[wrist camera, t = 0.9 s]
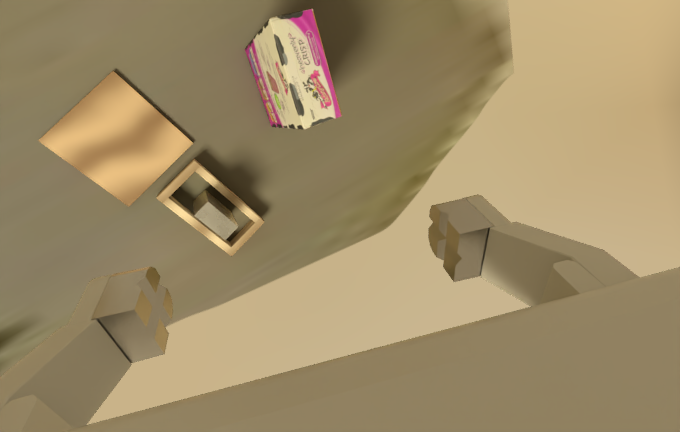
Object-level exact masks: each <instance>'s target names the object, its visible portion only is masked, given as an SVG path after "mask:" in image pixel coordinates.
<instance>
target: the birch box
mask: <svg viewBox="0 0 680 432" xmlns="http://www.w3.org/2000/svg"><path fill="white" fill-rule="evenodd" d="M195 171H196V172H197V173H198V174H199V175H200V176H202V177H203V178H204V179H205V180H206V181H207V182H208V183H210V184H211V185H212V186H213V187H214V188H215V189H217V190H218V191H219V192H220V193H221V194H222V195H224V196H225V197H226V198H227V199H228V200H229V201H231V202H232V203H233V204H234V205H235V206H236V207H238V208H239V209H240V210H241V211H242V212H243V213H244V214H246V215H247V216H248V217H249V218H250V219H251V220H250V221H249V222H248V223H247V224H246V225H245V226H244V227H243V229H242V230H241V231H240V232H239V233H238V234H237V235H236V236H235V237H234V238H233V239H232V240H231V241H230V242H229V241H228V240H224V239H223V238H222V237H220V236H219V235H218V234H217V233H215V232H214V231H213V230H212V229H210V228H209V227H208V226H207V225H205V224H204V223H203V222H201V221H200V220H199V219H198V218H196V217H195V216H194V213H192V212H191V211H190V210H188V209H187V208H186V207H185V206H183V205H182V204H181V203H180V202H178V201H177V200H176V199H175V198H173V197H172V196H171V195H172V194H173V193H174V192H175V191H176V190H177V189H178V188H179V187H180V186H181V185H182V184H183V183H184V182H185V181H186V180H187V179H188V178H189V177H190V176H191V175H192V174H193V173H194V172H195ZM156 199H158V200H159V201H160V202H162V203H163V204H164V205H166V206H167V207H168V208H169V209H171V210H172V211H173V212H175V213H176V214H177V215H179V216H180V217H181V218H182V219H184V220H185V221H186V222H188V223H189V224H190V225H192V226H193V227H194V228H195V229H197V230H198V231H199V232H201V233H202V234H203V235H204V236H206V237H207V238H208V239H210V240H211V241H212V242H214V243H215V244H216V245H217V246H219V247H220V248H221V249H223V250H224V251H225V252H227V253H228V254H229V255H230V256H232V255H233V254H234V253H235V252H236V251H237V250H238V249H239V248H240V247H241V246H242V245H243V244H244V243H245V242H246V241H247V240H248V239H249V238H250V237H251V236H252V235H253V234H254V233H255V232H256V231H257V229H258V228H259V227H260V226H261V225H262V224H263V223H264V220H263V219H262V218H261V217H260V216H259V215H258V214H257V213H256V212H255V211H253V210H252V209H251V208H250V207H249V206H248V205H247V204H245V203H244V202H243V201H242V200H241V199H240V198H239V197H238V196H236V195H235V194H234V193H233V192H232V191H231V190H230V189H228V188H227V187H226V186H225V185H224V184H223V183H222V182H220V181H219V180H218V179H217V178H216V177H215V176H214V175H213V174H211V173H210V172H209V171H208V170H207V169H206V168H205V167H203V166H202V165H201V164H200V163H199V162H198V161H197V160H195V159H193V160H192V161H191V162H190V163H189V164H188V165H187V166H186V167H185V168H184V169H183V170H182V171H181V172H180V173H179V174H178V175H177V176H176V177H175V178H174V179H173V180H172V181H171V182H170V183H169V184H168V185H167V186H166V187H165V188H164V189H163V190H162V191H161V192H160V193H159V194H158V195H157V198H156Z"/></svg>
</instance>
